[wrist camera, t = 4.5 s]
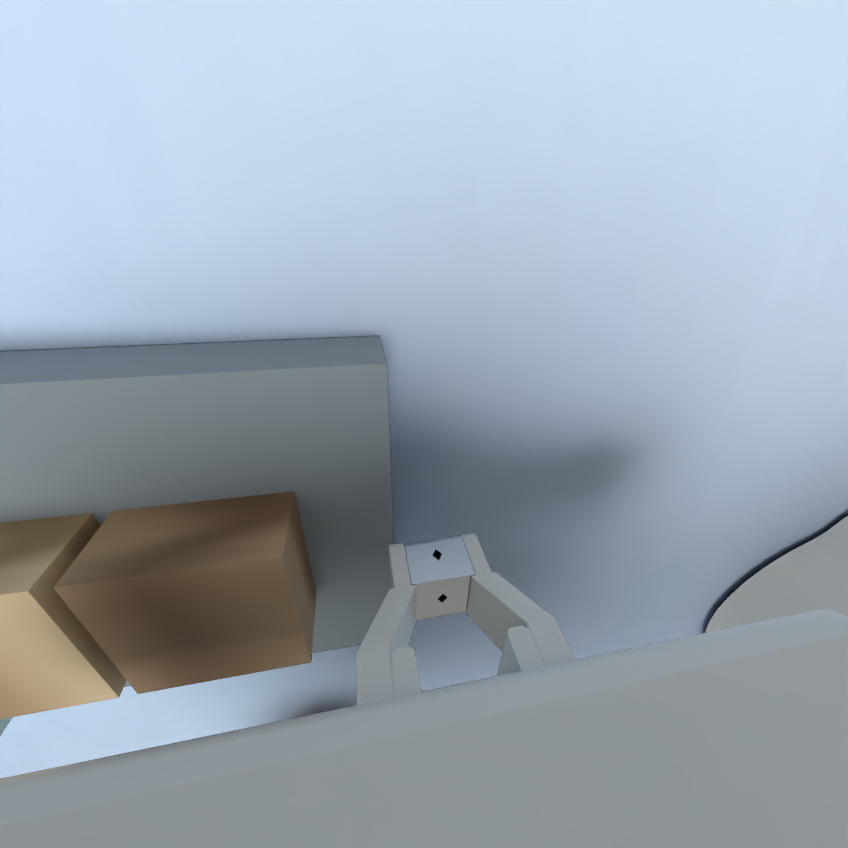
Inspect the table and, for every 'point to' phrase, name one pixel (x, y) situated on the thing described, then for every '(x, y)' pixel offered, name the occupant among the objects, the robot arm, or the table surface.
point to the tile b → (197, 590)
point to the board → (215, 446)
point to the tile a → (46, 621)
